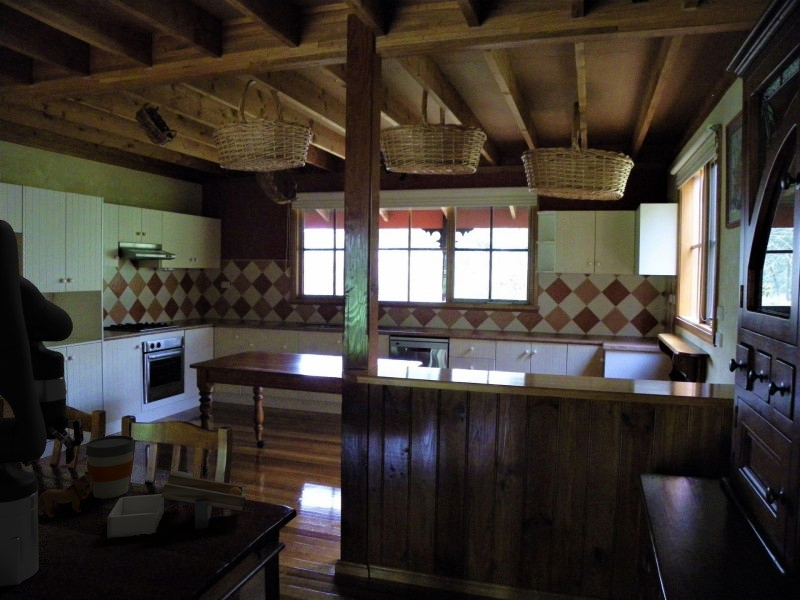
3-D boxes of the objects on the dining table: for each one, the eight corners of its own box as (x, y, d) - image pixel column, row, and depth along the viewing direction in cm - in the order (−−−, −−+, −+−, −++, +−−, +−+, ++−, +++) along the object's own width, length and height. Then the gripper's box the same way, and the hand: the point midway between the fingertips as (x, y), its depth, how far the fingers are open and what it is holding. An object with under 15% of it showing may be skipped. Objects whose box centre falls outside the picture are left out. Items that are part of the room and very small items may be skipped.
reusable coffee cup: (90, 487, 163) (89, 437, 163) (136, 482, 168) (136, 433, 167) (82, 503, 152) (81, 449, 151) (132, 497, 156) (132, 445, 155)
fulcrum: (207, 528, 138) (207, 500, 138) (194, 529, 137) (195, 501, 137) (211, 509, 149) (211, 484, 149) (200, 510, 148) (200, 484, 148)
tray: (154, 533, 134) (154, 513, 134) (107, 538, 132) (107, 517, 132) (163, 512, 147) (163, 493, 147) (120, 515, 144) (120, 497, 144)
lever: (241, 513, 141) (245, 498, 141) (160, 500, 136) (164, 485, 136) (243, 488, 158) (247, 474, 158) (171, 475, 153) (175, 462, 153)
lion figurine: (92, 502, 152) (92, 470, 152) (96, 509, 148) (96, 476, 148) (28, 516, 143) (28, 482, 142) (31, 524, 139) (30, 488, 138)
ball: (239, 502, 144) (242, 490, 144) (226, 500, 143) (230, 488, 143) (239, 497, 147) (243, 486, 147) (227, 495, 146) (231, 484, 146)
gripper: (5, 401, 122) (7, 472, 124) (76, 399, 126) (77, 468, 127) (19, 393, 129) (21, 460, 131) (86, 391, 133) (87, 456, 134)
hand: (48, 464), depth 129 cm, fingers open, 8 cm apart
